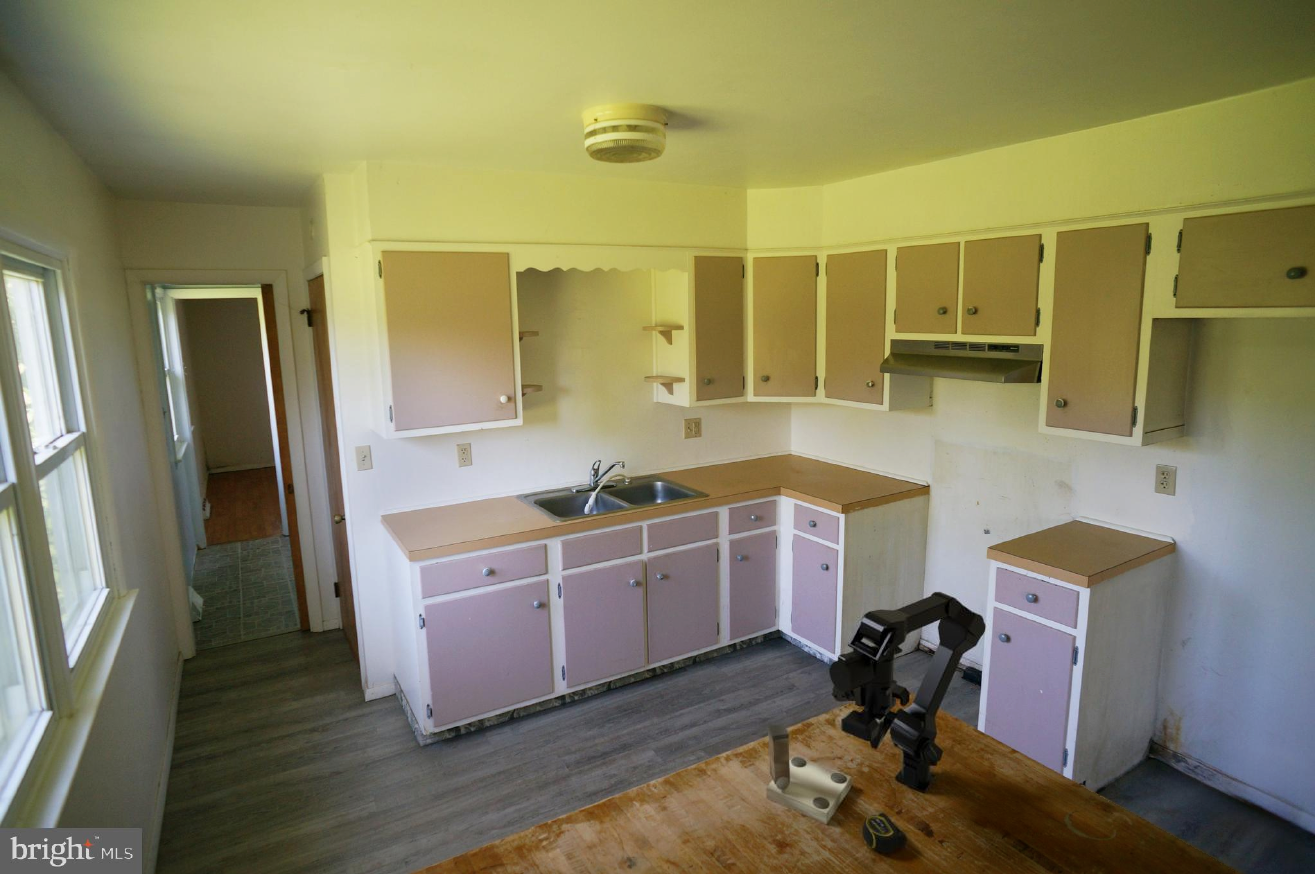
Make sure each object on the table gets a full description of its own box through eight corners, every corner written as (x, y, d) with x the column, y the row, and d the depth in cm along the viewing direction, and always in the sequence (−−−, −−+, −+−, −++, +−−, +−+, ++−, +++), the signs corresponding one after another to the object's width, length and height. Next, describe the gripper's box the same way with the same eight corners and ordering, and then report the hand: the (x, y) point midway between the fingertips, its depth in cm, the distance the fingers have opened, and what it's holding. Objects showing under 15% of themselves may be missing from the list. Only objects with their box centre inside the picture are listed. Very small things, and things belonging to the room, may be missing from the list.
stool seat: (793, 764, 154) (794, 753, 153) (850, 787, 146) (851, 776, 146) (766, 798, 143) (766, 786, 143) (826, 824, 136) (826, 812, 135)
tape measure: (907, 851, 129) (909, 834, 128) (876, 861, 127) (877, 843, 126) (885, 826, 135) (886, 809, 135) (854, 834, 133) (855, 817, 133)
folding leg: (785, 777, 145) (783, 723, 143) (791, 788, 142) (788, 733, 139) (769, 779, 145) (767, 726, 142) (774, 790, 141) (772, 736, 139)
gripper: (861, 646, 149) (858, 712, 152) (817, 681, 136) (815, 753, 138) (912, 663, 142) (908, 732, 145) (871, 702, 128) (868, 777, 131)
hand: (874, 747), depth 140 cm, fingers closed
